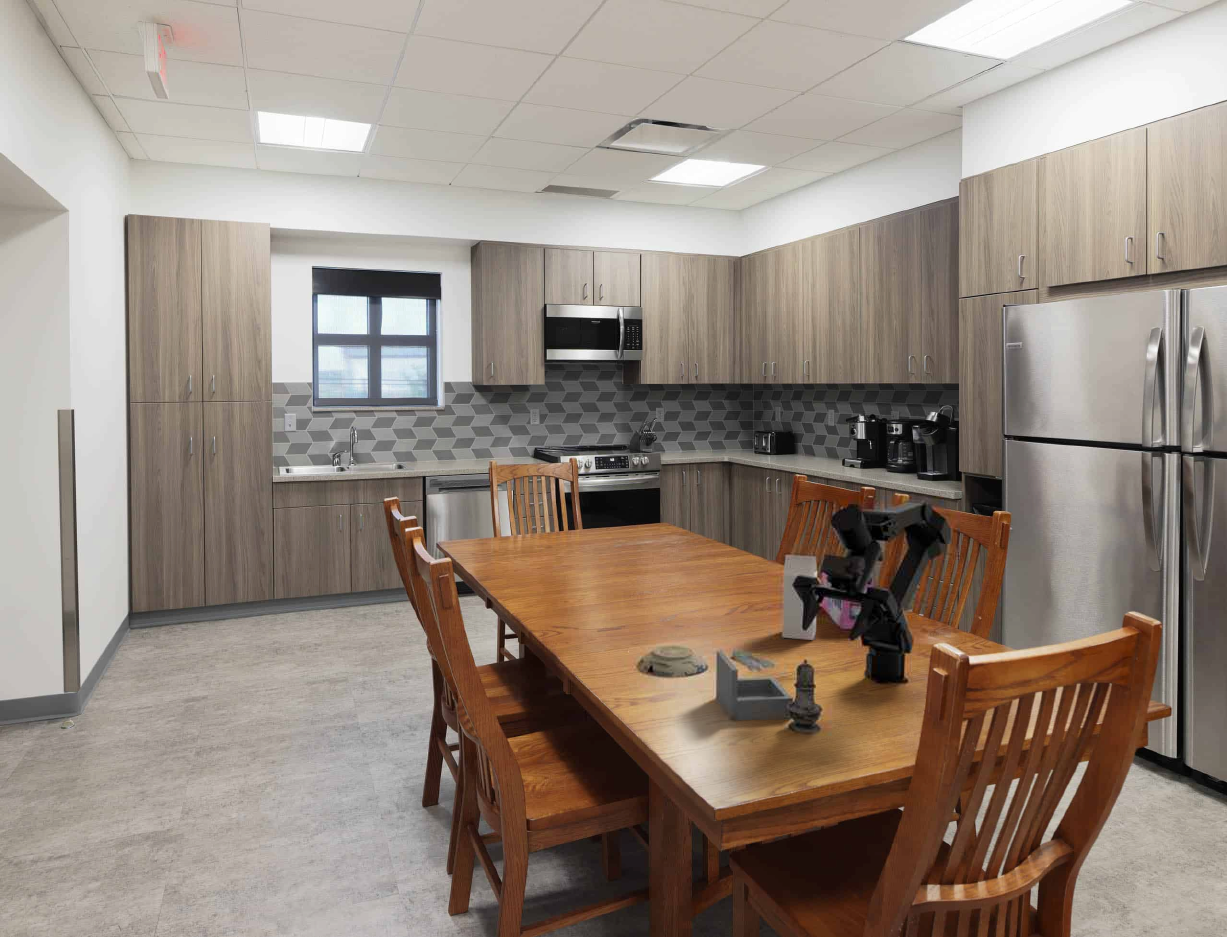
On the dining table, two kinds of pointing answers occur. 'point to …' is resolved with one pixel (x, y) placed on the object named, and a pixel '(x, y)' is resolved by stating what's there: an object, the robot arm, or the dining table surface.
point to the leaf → (751, 661)
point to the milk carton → (796, 597)
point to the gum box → (841, 607)
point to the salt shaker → (804, 702)
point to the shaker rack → (749, 694)
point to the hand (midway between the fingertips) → (826, 634)
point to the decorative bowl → (673, 662)
